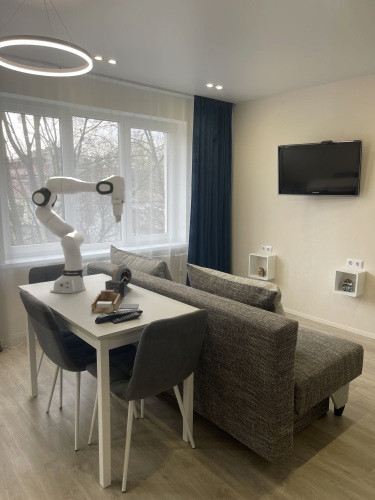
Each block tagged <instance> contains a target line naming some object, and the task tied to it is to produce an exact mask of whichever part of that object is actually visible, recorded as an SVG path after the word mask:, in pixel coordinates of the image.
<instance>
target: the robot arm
mask: <svg viewBox="0 0 375 500" xmlns="http://www.w3.org/2000/svg"><path fill="white" fill-rule="evenodd" d="M125 191H126V184H125V178H124V177H123V176H121V175H116V174H113V175H111V176H110V177H107V178H105V179H102V180H99V181H98V182H93V181H92V182H88V181H83V180H80V179H77V178H73V177H69V176H68V177H67V176H53V177H49V178H48V179H47V180H46V183H45V187H44V186H42V187H41V188H39V189H37V190H34V192H33V193H32V196H31V200H32V202H33V204H35V206H37V208H36V209H35V212H34V215H35V216H36V218H37V219H38V220H39V221H40V223H41V224H42V225H43V226H44V227H45V228H47V230H49V232H50V233H52V234H53V235H54V236H56V237H58V238H60V239H61V240H60V245H61V247H62V251H63V257H64V268H63V269H62V271H61V276H59V277H58V278H57V279H55V281H54V283H53V286H52V287H51V288H50V289H49V291H50V292H51V293H60V294H61V293H62V294H75V293H78V292H83V291H85V290H86V285H85V282H84V268H83V257H82V253H81V249H80V247H81V246H82V245H83V243H84V240H85V238H84V235H83V233H81V232H80V231H79V230H77V229H75V227H73V226H71V225H70V224H69V223H68V222H66V221H65V220H64V219H63V218H62V217H61V216H60V215H59V214H57V212H56V211H54V209H53V208H54V206H55V205H56V202H57V199H58V195H75V194H79V193H89V192H92V193H97V194H99V195H101V196H108V197H109V196H110V198H111V199H110V203H111V205H112V206H111V207H112V214H113V216H114V217H115V223H116V224H117V223H120V222H121V221H122V215H123V214H124V208H123V206H124V204H126V193H125Z"/></svg>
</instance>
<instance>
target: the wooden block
mask: <svg viewBox="0 0 375 500" xmlns="http://www.w3.org/2000/svg"><path fill="white" fill-rule="evenodd" d="M100 293H101V301H108V302H112V306H113V304H114V290H106V289H101V290H100Z"/></svg>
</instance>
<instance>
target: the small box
mask: <svg viewBox="0 0 375 500" xmlns="http://www.w3.org/2000/svg"><path fill="white" fill-rule="evenodd" d="M104 283H105V290H114V294H120V300H121V299H123V298H125V292H124V281H116V280H112V279H109V280H106V281H105V282H104Z"/></svg>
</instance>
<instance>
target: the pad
mask: <svg viewBox="0 0 375 500" xmlns="http://www.w3.org/2000/svg"><path fill="white" fill-rule="evenodd" d="M139 305H140V304H139V303H121V305H120V307H119V309H121V310H123V309H124V310H125V309H128V310H130V309H133V310H134V309H135V310H137V309H138V308H139Z"/></svg>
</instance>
